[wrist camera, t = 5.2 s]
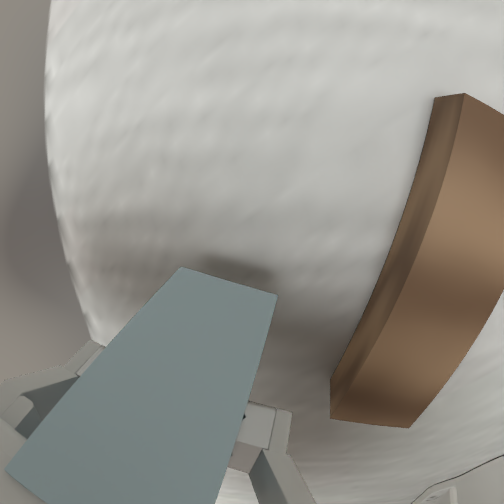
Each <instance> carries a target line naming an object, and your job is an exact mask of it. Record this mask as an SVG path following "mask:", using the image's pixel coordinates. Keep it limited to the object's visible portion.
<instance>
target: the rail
mask: <svg viewBox="0 0 504 504" xmlns="http://www.w3.org/2000/svg"><path fill="white" fill-rule="evenodd" d="M503 290H504V115H503V114H501V113H500V112H498V111H496V110H495V109H493V108H491V107H490V106H488V105H486V104H484V103H482V102H481V101H479V100H477V99H475V98H473V97H471V96H469V95H468V94H466V93H462V94H455V95H448V96H442V97H436V98H435V100H434V105H433V109H432V114H431V118H430V123H429V127H428V131H427V135H426V139H425V143H424V147H423V150H422V154H421V158H420V161H419V165H418V168H417V172H416V175H415V178H414V182H413V185H412V188H411V191H410V195H409V198H408V201H407V204H406V207H405V210H404V213H403V216H402V219H401V221H400V224H399V227H398V230H397V233H396V235H395V238H394V241H393V244H392V246H391V249H390V251H389V254H388V257H387V259H386V262H385V264H384V267H383V269H382V272H381V274H380V277H379V279H378V281H377V284H376V286H375V288H374V291H373V293H372V295H371V298H370V300H369V302H368V304H367V307H366V309H365V311H364V313H363V316H362V318H361V320H360V322H359V324H358V326H357V328H356V330H355V333H354V335H353V337H352V339H351V341H350V343H349V345H348V347H347V349H346V351H345V353H344V355H343V357H342V359H341V361H340V363H339V364H338V366H337V368H336V370H335V372H334V374H333V376H332V378H331V379H330V419H336V420H343V421H349V422H356V423H364V424H372V425H380V426H390V427H401V428H409V427H410V426H411V425H412V424H413V423H414V422H415V421H416V419H417V418H418V417H419V416H420V415H421V414H422V412H423V411H424V410H425V409H426V408H427V406H428V405H429V404H430V403H431V402H432V400H433V399H434V398H435V397H436V395H437V394H438V393H439V391H440V390H441V389H442V388H443V386H444V385H445V384H446V382H447V381H448V380H449V378H450V377H451V375H452V374H453V373H454V371H455V370H456V368H457V367H458V366H459V364H460V363H461V361H462V360H463V358H464V357H465V355H466V354H467V352H468V351H469V349H470V348H471V346H472V345H473V343H474V341H475V340H476V338H477V337H478V335H479V333H480V332H481V330H482V328H483V327H484V325H485V323H486V321H487V320H488V318H489V316H490V314H491V313H492V311H493V309H494V307H495V305H496V303H497V302H498V300H499V298H500V296H501V294H502V292H503Z"/></svg>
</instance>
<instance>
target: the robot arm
mask: <svg viewBox="0 0 504 504" xmlns="http://www.w3.org/2000/svg"><path fill="white" fill-rule="evenodd" d="M105 348H106V347H105V346H103V345H101V344H99V343H97V342H95V341H93V340H91V341H88V342H87V343H86V344H85V345H84V346H83V347H82V348H81V349H80V350H79V351H78V352H77V353H76V354H75V355H74V356H73V357H72V358H71V359H70V360H69V361H68V362H67V363H66V365H65V366H63V367H62V366H60V365H59V366H56V367H52V368H48V369H45V370H41V371H37V372H33V373H30V374H26V375H22V376H18V377H14V378H10V379H6V380H4V381H3V382H2V383H1V384H0V504H47V503H45V502H44V501H43V500H41V499H40V498H38V497H37V496H36V495H34V494H33V493H32V492H30V491H29V490H28V489H26V488H25V487H24V486H23V485H21V484H20V483H19V482H17V481H16V480H15V479H14V478H13V477H11V476H10V475H9V474H8V473H7V472H6V471H5V470H4V469H5V467H6V466H7V465H8V463H9V462H10V461H11V460H12V458H13V457H14V456H15V454H16V453H17V452H18V451H19V449H20V448H21V447H22V446H23V444H24V443H25V442H26V441H27V439H28V438H29V437H30V436H31V434H32V433H33V432H34V431H35V429H36V428H37V427H38V426H39V425H40V423H41V422H42V421H43V420H44V418H45V417H46V416H47V415H48V414H49V412H50V411H51V410H52V409H53V408H54V406H55V405H56V404H57V403H58V402H59V401H60V399H61V398H62V397H63V396H64V395H65V393H66V392H67V391H68V390H69V389H70V388H71V386H72V385H73V384H74V383H75V382H76V381H77V379H78V378H79V377H80V376H81V375H82V374H83V373H84V371H85V370H86V369H87V368H88V367H89V366H90V365H91V363H92V362H93V361H94V360H95V359H96V358H97V357H98V356H99V354H100V353H101V352H102V351H103V350H104V349H105ZM291 422H292V412H290V411H285V410H281V409H277V408H275V407H271V406H267V405H263V404H259V403H255V402H251V401H248V402H247V406H246V409H245V412H244V415H243V419H242V422H241V425H240V428H239V432H238V435H237V438H236V441H235V444H234V447H233V450H232V453H231V457H230V460H229V463H228V466H227V467H229V468H233V469H236V470H239V471H243V472H246V473H249V476H250V479H251V482H252V485H253V488H254V491H255V493H256V496H257V499H258V502H259V504H317V503H316V502H315V500H314V498H313V496H312V494H311V493H310V491H309V489H308V487H307V485H306V483H305V481H304V480H303V478H302V476H301V474H300V472H299V470H298V468H297V466H296V465H295V463H294V461H293V459H292V457H291V455H288V454H286V452H287V446H288V440H289V434H290V428H291ZM412 504H504V456H502V457H499V458H497V459H495V460H492V461H490V462H488V463H486V464H484V465H482V466H480V467H478V468H476V469H474V470H472V471H470V472H468V473H466V474H464V475H462V476H459V477H457V478H454V479H451V480H448V481H445V482H442V483H439V484H436V485H434V486H432V487H430V488H428V489H427V490H426V491H425V492H424V493H423V494H422V495H421V496H420V497H418V498H417V499H416V500H415V501H414V502H413V503H412Z"/></svg>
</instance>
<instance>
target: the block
mask: <svg viewBox="0 0 504 504" xmlns="http://www.w3.org/2000/svg"><path fill="white" fill-rule="evenodd" d="M277 298H278V295H276V294H272V293H269V292H265V291H262V290H258V289H255V288H251V287H248V286H245V285H241V284H238V283H234V282H231V281H228V280H224V279H221V278H218V277H214V276H211V275H208V274H205V273H201V272H198V271H195V270H191V269H188V268H185V267H182V266H181V267H180V268H179V269H178V270H177V271H176V272H175V273H174V274H173V275H172V276H171V277H170V278H169V279H168V280H167V282H166V283H165V284H164V285H163V286H162V287H161V288H160V289H159V290H158V291H157V292H156V293H155V294H154V295H153V296H152V297H151V299H150V300H149V301H148V302H147V303H146V304H145V305H144V306H143V307H142V308H141V309H140V310H139V311H138V312H137V314H136V315H135V316H134V317H133V318H132V319H131V320H130V321H129V322H128V323H127V324H126V326H125V327H124V328H123V329H122V330H121V331H120V332H119V333H118V334H117V335H116V337H115V338H114V339H113V340H112V341H111V342H110V343H109V344H108V345H107V347H106V348H105V349H104V350H103V351H102V352H101V353H100V354H99V356H98V357H97V358H96V359H95V360H94V361H93V362H92V363H91V365H90V366H89V367H88V368H87V369H86V370H85V371H84V373H83V374H82V375H81V376H80V377H79V378H78V379H77V381H76V382H75V383H74V384H73V385H72V386H71V388H70V389H69V390H68V391H67V392H66V393H65V395H64V396H63V397H62V398H61V399H60V401H59V402H58V403H57V404H56V405H55V406H54V408H53V409H52V410H51V411H50V412H49V414H48V415H47V416H46V417H45V418H44V420H43V421H42V422H41V423H40V425H39V426H38V427H37V428H36V429H35V431H34V432H33V433H32V434H31V436H30V437H29V438H28V439H27V441H26V442H25V443H24V444H23V446H22V447H21V448H20V449H19V451H18V452H17V453H16V454H15V456H14V457H13V458H12V460H11V461H10V462H9V463H8V465H7V466H6V467H5V469H4V470H5V471H6V472H7V473H8V474H9V475H10V476H11V477H13V478H14V479H15V480H16V481H17V482H19V483H20V484H21V485H23V486H24V487H25V488H26V489H28V490H29V491H30V492H32V493H33V494H34V495H36V496H37V497H38V498H40V499H41V500H43V501H44V502H45V503H47V504H215V501H216V499H217V496H218V493H219V490H220V487H221V484H222V481H223V478H224V475H225V472H226V469H227V466H228V463H229V460H230V457H231V453H232V450H233V447H234V444H235V441H236V438H237V435H238V432H239V428H240V425H241V422H242V419H243V415H244V412H245V409H246V406H247V402H248V399H249V396H250V393H251V389H252V386H253V382H254V379H255V376H256V372H257V369H258V365H259V362H260V359H261V355H262V352H263V348H264V345H265V341H266V338H267V334H268V330H269V327H270V323H271V320H272V316H273V312H274V309H275V305H276V301H277Z"/></svg>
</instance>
